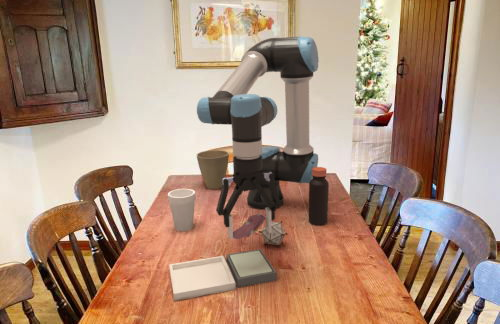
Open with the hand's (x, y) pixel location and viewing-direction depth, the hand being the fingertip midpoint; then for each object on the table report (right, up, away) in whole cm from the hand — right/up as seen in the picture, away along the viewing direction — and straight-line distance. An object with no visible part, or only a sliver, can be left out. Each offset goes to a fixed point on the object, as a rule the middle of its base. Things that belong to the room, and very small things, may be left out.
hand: (250, 233), depth 103 cm
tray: (-13, -12, -1) cm, 18 cm away
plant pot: (-17, +8, +74) cm, 77 cm away
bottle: (+25, -2, +33) cm, 42 cm away
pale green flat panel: (0, -9, +2) cm, 10 cm away
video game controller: (0, 0, +1) cm, 1 cm away
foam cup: (-24, -4, +31) cm, 39 cm away
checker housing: (0, -11, +3) cm, 11 cm away
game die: (+7, -7, +18) cm, 20 cm away
